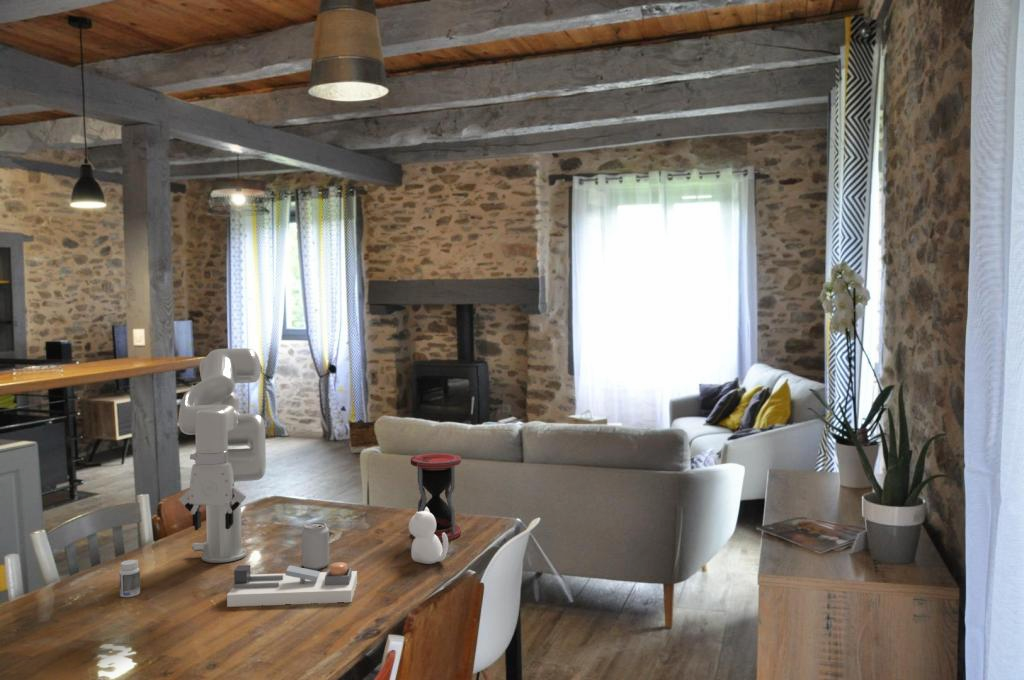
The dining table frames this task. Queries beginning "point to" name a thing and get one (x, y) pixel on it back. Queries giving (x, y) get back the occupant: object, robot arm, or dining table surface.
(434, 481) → the hourglass
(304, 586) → the panel
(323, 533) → the can
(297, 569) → the slate rocker
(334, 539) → the jawbone
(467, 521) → the dining table surface
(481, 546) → the dining table surface
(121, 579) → the pill bottle
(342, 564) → the button
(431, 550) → the cat figurine
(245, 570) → the slider
